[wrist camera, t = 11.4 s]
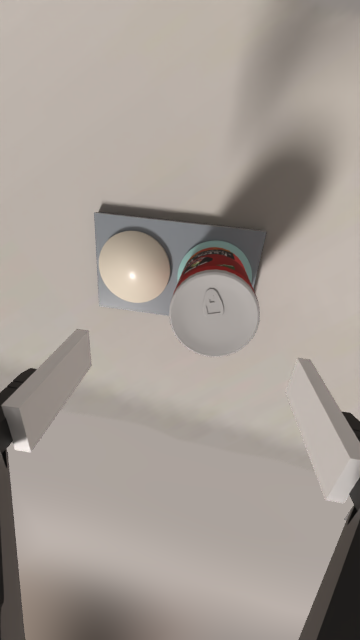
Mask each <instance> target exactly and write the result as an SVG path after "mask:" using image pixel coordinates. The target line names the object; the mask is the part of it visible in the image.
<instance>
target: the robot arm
mask: <svg viewBox="0 0 360 640" xmlns="http://www.w3.org/2000/svg"><path fill="white" fill-rule="evenodd" d="M91 366H92V364H91V353H90V341H89V331H88V330H81V329H76V331H75V332H74V333H73V334H72V335H71V336H70V337H69V338H68V339H67V340H66V341H65V342H64V343H63V344H62V345H61V346H60V347H59V348H58V349H57V350H56V351H55V352H54V353H53V354H52V355H51V356H50V357H49V358H48V359H47V360H46V361H45V362H44V363H43V364H42V365H41V366H40V367H39V368H38V369H33V368H30V369H28V370H26V371H24V372H23V373H21V374H20V375H19V376H17V377H16V378H15V379H14V380H13V382H11V383H10V384H9V385H8V386H7V388H5V389H4V390H3V391H2V392H1V393H0V640H25V634H24V624H23V613H22V603H21V592H20V581H19V570H18V560H17V548H16V538H15V527H14V516H13V505H12V496H11V484H10V473H9V463H8V452H7V449H6V448H7V447H8V446H9V445H10V443H11V442H13V445H14V448H15V450H19V451H26V452H32V450H33V449H34V447H35V446H36V444H37V443H38V442H39V440H40V439H41V437H42V436H43V434H44V433H45V432H46V430H47V429H48V427H49V426H50V424H51V423H52V421H53V420H54V419H55V417H56V416H57V414H58V413H59V412H60V410H61V409H62V407H63V406H64V404H65V403H66V401H67V400H68V399H69V397H70V396H71V394H72V393H73V391H74V390H75V389H76V387H77V386H78V384H79V383H80V381H81V380H82V379H83V377H84V376H85V374H86V373H87V371H88V370H89V368H90V367H91ZM285 393H286V396H287V398H288V401H289V404H290V406H291V409H292V412H293V414H294V417H295V420H296V422H297V425H298V428H299V431H300V433H301V436H302V439H303V441H304V444H305V447H306V449H307V452H308V455H309V457H310V460H311V463H312V465H313V468H314V471H315V473H316V476H317V479H318V482H319V484H320V487H321V490H322V492H323V495H324V498H325V500H327V501H333V502H340V503H344V502H345V501H346V499H347V498H348V496H349V495H350V497H351V499H352V501H353V503H354V506H353V507H352V509H351V510H350V512H349V513H348V515H347V516H346V517H345V520H346V523H345V526H344V528H343V531H342V533H341V536H340V538H339V541H338V543H337V546H336V548H335V551H334V553H333V556H332V558H331V561H330V563H329V566H328V568H327V571H326V573H325V575H324V578H323V580H322V583H321V586H320V588H319V590H318V593H317V596H316V598H315V601H314V603H313V605H312V608H311V610H310V613H309V615H308V618H307V620H306V623H305V625H304V628H303V630H302V633H301V635H300V638H299V640H360V421H359V420H358V419H356V418H355V417H354V416H353V415H352V414H351V413H347V412H341V410H340V408H339V407H338V405H337V403H336V402H335V400H334V398H333V397H332V395H331V393H330V392H329V390H328V388H327V387H326V385H325V383H324V382H323V380H322V378H321V377H320V375H319V373H318V372H317V370H316V368H315V366H314V365H313V363H312V361H311V360H310V359H302V358H297V361H296V364H295V366H294V369H293V372H292V375H291V378H290V381H289V383H288V386H287V389H286V392H285Z"/></svg>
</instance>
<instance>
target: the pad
mask: <svg viewBox="0 0 360 640" xmlns="http://www.w3.org/2000/svg"><path fill="white" fill-rule="evenodd" d="M210 247H218V248H223V249H226V250H229V251H230V252H232V253H234V254H235V255H236V256H237V257H238V258H239V259H240V261H241V262H242V264H243V266H244V268H245V271H246V273H247V275H248V278H249V280H250V282H252V270H251V266H250V263H249V261H248V259H247V258H246V256H245V254H244V253H243V252H242V251H241V250H240V249H239V248H237V247H236V246H234V245H233V244H231V243H228V242H225V241H219V240H213V241H206V242H203V243H200V244H198V245H196V246H195V247H193V248H192V249H191V250H190V251H189V252H188V253H187V254H186V255H185V256H184V258H183V259H182V261H181V264H180V266H179V269H178V275H177V281H179V279H180V276H181V274H182V271H183V269H184V267H185V265H186V263H187V261H188V260H189V259H190V258H191V257H192V256H193V255H194V254H195V253H197V252H198V251H200V250H202V249H206V248H210Z"/></svg>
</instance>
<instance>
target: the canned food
mask: <svg viewBox="0 0 360 640" xmlns="http://www.w3.org/2000/svg"><path fill="white" fill-rule="evenodd" d="M169 318H170V324H171V327H172V330H173V332H174V334H175V336H176V337H177V339H178V340H179V341H180V342H181V343H182V344H183V345H184V346H185V347H186V348H188V349H189V350H191V351H193V352H194V353H197V354H200V355H203V356H208V357H222V356H228V355H230V354H233V353H236V352H237V351H239V350H241V349H242V348H244V347H245V346H246V345H247V344H248V343H249V342H250V341H251V339H252V338H253V337H254V335H255V333H256V331H257V329H258V325H259V320H260V311H259V304H258V300H257V297H256V294H255V292H254V289H253V287H252V285H251V282H250V280H249V278H248V275H247V273H246V271H245V268H244V266H243V264H242V262H241V261H240V259H239V258H238V257H237V256H236V255H235V254H234V253H232V252H230V251H229V250H226V249H223V248H218V247H210V248H206V249H202V250H200V251H198V252H197V253H195V254H194V255H193V256H192V257H191V258H190V259H189V260H188V261H187V263H186V265H185V267H184V269H183V271H182V274H181V276H180V279H179V281H178V283H177V286H176V288H175V290H174V293H173V296H172V299H171V303H170V311H169Z"/></svg>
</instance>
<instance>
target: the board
mask: <svg viewBox="0 0 360 640" xmlns="http://www.w3.org/2000/svg"><path fill="white" fill-rule="evenodd" d="M94 220H95V239H96V257H97V276H98V294H99V306H101V307H109V308H116V309H123V310H131V311H138V312H145V313H153V314H160V315H167V316H169V311H170V303H171V299H172V296H173V293H174V290H175V288H176V286H177V283H178V281H177V275H178V269H179V266H180V264H181V261H182V259H183V258H184V256H185V255H186V254H187V253H188V252H189V251H190V250H191V249H192V248H193V247H195V246H196V245H198V244H200V243H203V242H206V241H213V240H219V241H225V242H228V243H231V244H233V245H234V246H236V247H237V248H239V249H240V250H241V251H242V252H243V253H244V254H245V256H246V258H247V259H248V261H249V263H250V266H251V270H252V282H251V285H252V287H253V288H254V284H255V279H256V275H257V271H258V267H259V262H260V258H261V254H262V249H263V245H264V241H265V237H266V231H264V230H255V229H246V228H237V227H228V226H219V225H210V224H201V223H192V222H183V221H174V220H165V219H156V218H147V217H138V216H129V215H120V214H111V213H102V212H95V213H94Z"/></svg>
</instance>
